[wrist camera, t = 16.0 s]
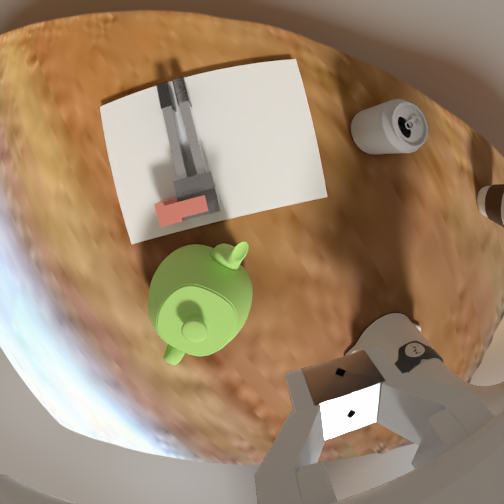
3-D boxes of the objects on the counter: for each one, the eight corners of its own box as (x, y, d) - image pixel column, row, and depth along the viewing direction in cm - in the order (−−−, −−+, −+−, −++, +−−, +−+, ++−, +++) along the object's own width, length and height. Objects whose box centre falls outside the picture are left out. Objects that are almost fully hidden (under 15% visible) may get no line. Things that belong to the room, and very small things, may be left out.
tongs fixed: (220, 206, 39) (220, 211, 34) (188, 214, 39) (183, 220, 34) (192, 84, 33) (189, 73, 29) (160, 93, 33) (152, 84, 28)
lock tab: (211, 208, 38) (209, 215, 33) (167, 220, 38) (159, 228, 33) (206, 188, 38) (203, 191, 32) (162, 200, 37) (152, 204, 32)
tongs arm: (210, 175, 37) (208, 176, 33) (199, 178, 37) (197, 179, 33) (186, 85, 33) (183, 76, 29) (176, 88, 33) (172, 80, 29)
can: (340, 120, 38) (379, 106, 27) (373, 104, 38) (416, 90, 26) (361, 162, 40) (405, 162, 29) (393, 144, 40) (439, 140, 28)
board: (323, 196, 41) (327, 197, 40) (134, 241, 40) (131, 244, 39) (293, 62, 35) (295, 59, 33) (103, 108, 34) (99, 106, 32)
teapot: (196, 196, 39) (184, 207, 27) (282, 246, 43) (306, 277, 30) (136, 312, 44) (113, 358, 31) (213, 350, 47) (212, 402, 35)
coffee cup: (466, 216, 45) (506, 229, 34) (475, 169, 43) (516, 174, 31) (489, 228, 47) (524, 241, 36) (497, 186, 44) (533, 193, 33)
